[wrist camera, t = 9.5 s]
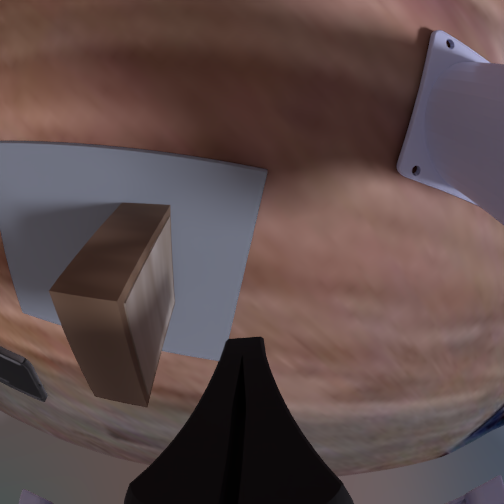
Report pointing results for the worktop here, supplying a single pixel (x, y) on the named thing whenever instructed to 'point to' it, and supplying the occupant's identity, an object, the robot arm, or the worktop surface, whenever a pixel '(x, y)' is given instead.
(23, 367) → the phone
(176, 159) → the rubber mat
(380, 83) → the worktop surface
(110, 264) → the brown wooden block
